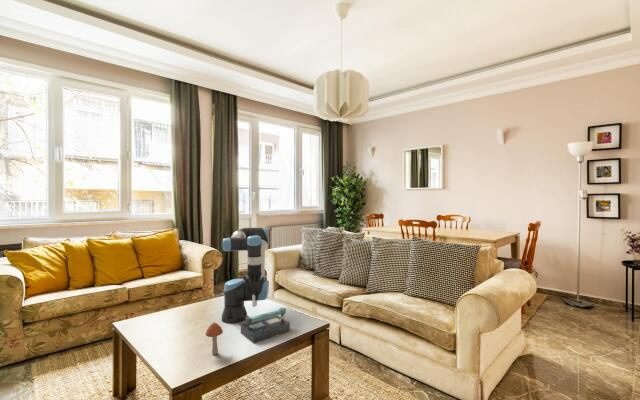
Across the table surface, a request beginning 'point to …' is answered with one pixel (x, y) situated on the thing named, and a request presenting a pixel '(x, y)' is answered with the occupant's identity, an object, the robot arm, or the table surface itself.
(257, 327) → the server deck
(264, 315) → the green knobbed rod
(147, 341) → the table surface
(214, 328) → the mushroom
